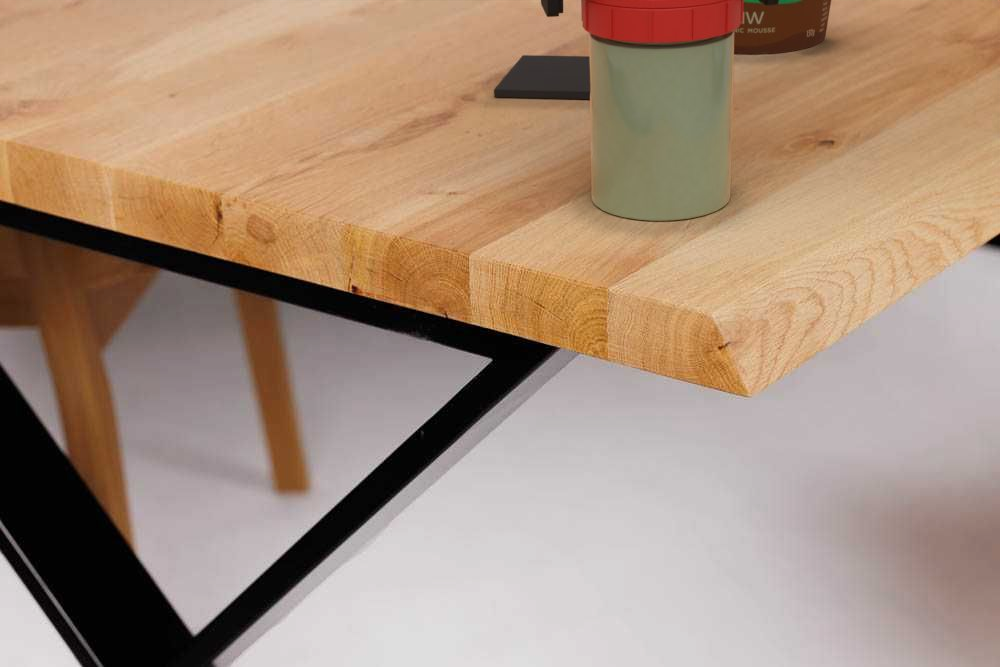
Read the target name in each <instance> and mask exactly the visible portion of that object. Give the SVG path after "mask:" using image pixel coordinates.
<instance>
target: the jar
mask: <svg viewBox="0 0 1000 667" xmlns="http://www.w3.org/2000/svg"><path fill="white" fill-rule="evenodd" d="M734 34H735V31H732V32H729V33H727V34H724V35H721V36H717V37H713V38H708V39H702V40H695V41H687V42H674V43H638V42H626V41H618V40H611V39H606V38H602V37H599V36H596V35H593V34H591V33H589V32H588V56H589V78H590V99H589V129H590V130H589V131H590V132H589V133H590V135H589V136H590V139H589V140H590V193H591V194H590V195H591V196H590V197H591V202H592V203H593V204H594V206H596V207H597V208H598V209H599V210H601V211H604V212H605V213H608V214H611V215H614V216H617V217H621V218H625V219H632V220H638V221H649V222H651V221H652V222H653V221H654V222H668V221H679V220H680V221H682V220H689V219H694V218H699V217H703V216H706V215H710V214H712V213H715V212H718V211H719V210H721V209H722V208H724V207H725V206H726V205H727V204H728V203H729V201H730V199H731V181H732V180H731V178H732V177H731V175H732V144H733V141H732V139H733V138H732V137H733V104H734V100H733V99H734V68H735V67H734V65H735V64H734V63H735V53H734Z"/></svg>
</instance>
